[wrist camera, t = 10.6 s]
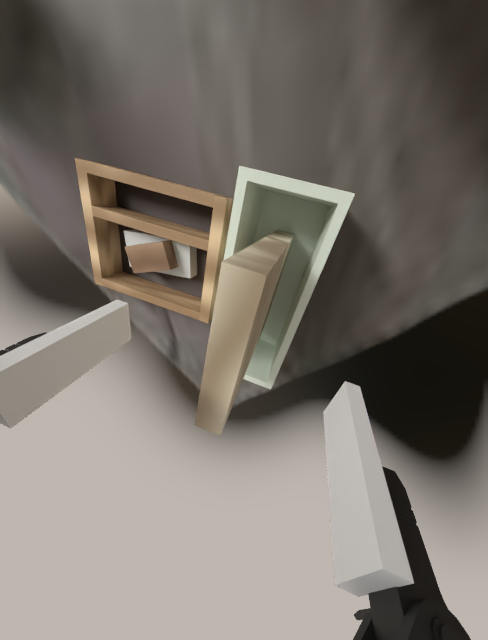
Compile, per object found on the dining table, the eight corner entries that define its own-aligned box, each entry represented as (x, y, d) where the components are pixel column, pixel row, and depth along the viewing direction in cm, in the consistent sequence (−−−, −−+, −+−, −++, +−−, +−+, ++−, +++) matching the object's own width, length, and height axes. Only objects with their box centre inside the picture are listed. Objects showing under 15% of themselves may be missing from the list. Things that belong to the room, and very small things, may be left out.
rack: (104, 164, 27) (74, 157, 23) (238, 199, 24) (227, 197, 21) (116, 276, 35) (95, 283, 31) (218, 311, 32) (207, 323, 29)
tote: (262, 180, 23) (239, 165, 15) (339, 199, 22) (354, 193, 14) (229, 330, 33) (205, 364, 26) (279, 348, 32) (270, 389, 25)
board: (253, 316, 30) (194, 425, 15) (278, 229, 24) (221, 261, 9) (266, 320, 30) (220, 435, 15) (294, 234, 24) (267, 275, 8)
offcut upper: (135, 244, 29) (124, 246, 27) (171, 239, 27) (162, 241, 25) (143, 269, 30) (133, 273, 29) (178, 266, 29) (170, 270, 27)
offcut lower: (136, 229, 30) (123, 230, 28) (198, 238, 29) (189, 240, 26) (141, 263, 33) (129, 266, 31) (198, 274, 31) (190, 278, 29)
